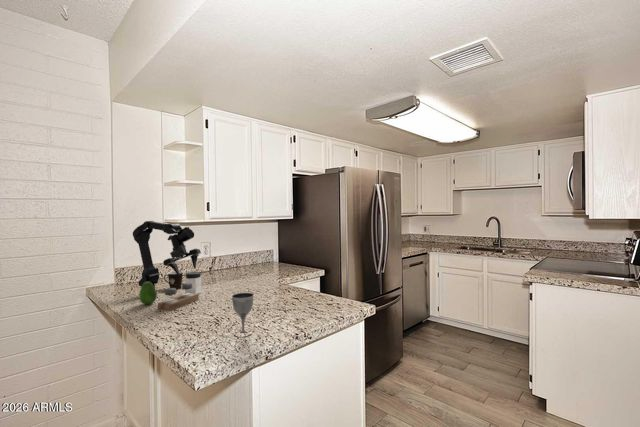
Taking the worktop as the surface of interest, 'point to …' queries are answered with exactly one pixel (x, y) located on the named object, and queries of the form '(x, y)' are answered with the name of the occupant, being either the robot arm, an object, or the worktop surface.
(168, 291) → the knob
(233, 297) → the wine glass
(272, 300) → the worktop surface
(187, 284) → the knob
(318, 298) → the worktop surface
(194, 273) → the jar
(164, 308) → the knob panel
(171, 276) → the coffee mug
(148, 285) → the avocado
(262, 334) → the worktop surface
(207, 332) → the worktop surface
